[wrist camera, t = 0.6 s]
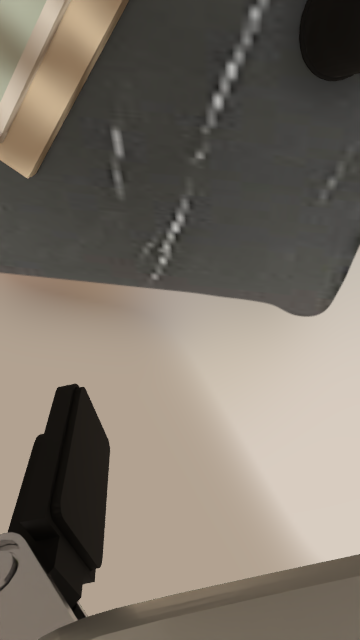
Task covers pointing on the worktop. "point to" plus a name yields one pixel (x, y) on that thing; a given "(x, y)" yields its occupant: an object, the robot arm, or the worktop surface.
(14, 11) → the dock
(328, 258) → the worktop surface
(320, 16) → the aerosol can
